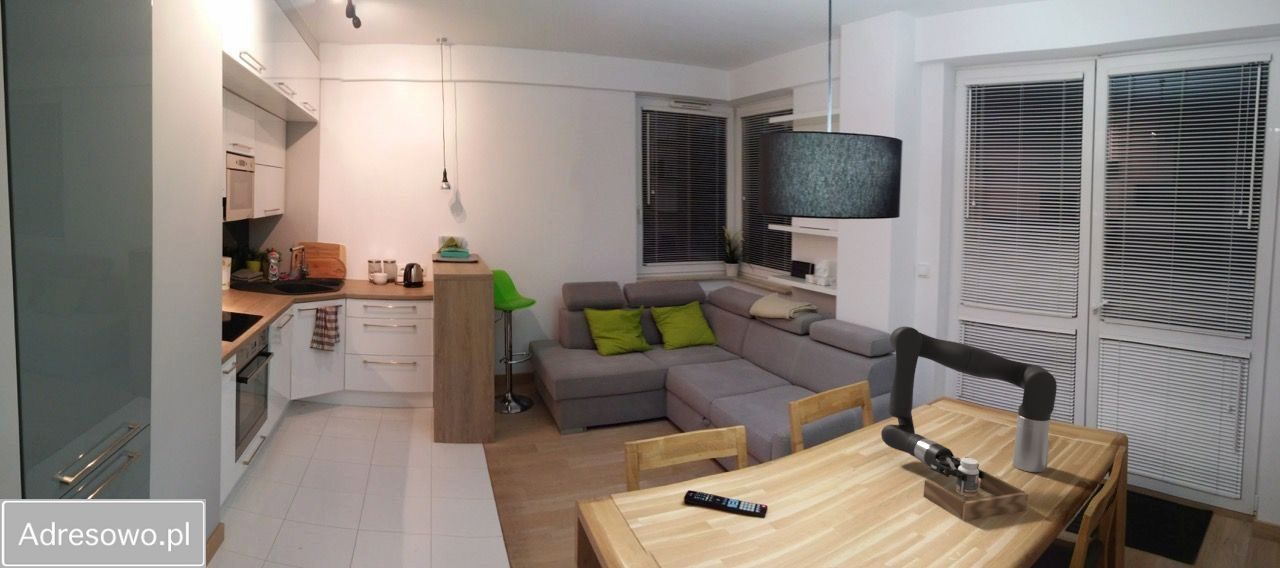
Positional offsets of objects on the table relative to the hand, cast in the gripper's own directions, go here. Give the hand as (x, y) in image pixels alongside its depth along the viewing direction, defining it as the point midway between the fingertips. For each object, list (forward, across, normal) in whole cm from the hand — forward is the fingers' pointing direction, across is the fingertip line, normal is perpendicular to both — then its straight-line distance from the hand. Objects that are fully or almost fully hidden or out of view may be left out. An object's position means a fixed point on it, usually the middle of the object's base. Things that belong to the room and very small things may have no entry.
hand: (974, 476), depth 209 cm
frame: (0, 0, +8) cm, 8 cm away
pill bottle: (-2, 0, +6) cm, 7 cm away
